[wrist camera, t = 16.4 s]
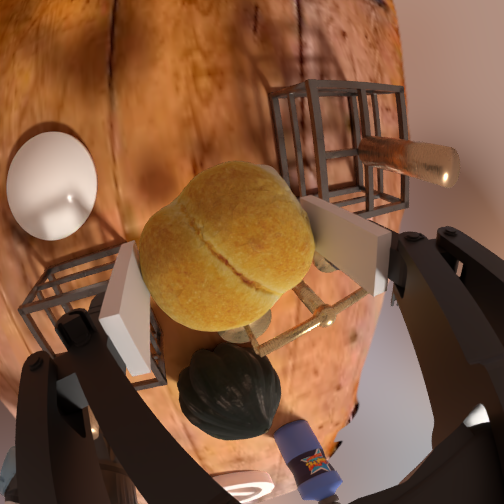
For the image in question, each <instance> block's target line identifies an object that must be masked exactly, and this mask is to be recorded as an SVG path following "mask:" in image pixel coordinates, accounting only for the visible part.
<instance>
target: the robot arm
mask: <svg viewBox="0 0 504 504" xmlns="http://www.w3.org/2000/svg"><path fill="white" fill-rule="evenodd" d="M300 204H301V207H302V208H303V209H304V210H305V211H306V212H307V216H308V218H309V220H310V225H311V229H312V233H313V236H314V242H315V250H316V251H317V252H318V253H320V254H321V255H322V256H323V257H325V258H326V259H327V260H328V261H330V262H331V263H332V264H334V265H335V266H336V267H337V268H339V269H340V270H341V271H342V272H344V273H345V274H346V275H347V276H349V277H350V278H351V279H352V280H354V281H355V282H356V283H357V284H359V285H360V286H361V287H362V288H364V289H365V290H366V291H367V292H368V293H370V294H371V295H372V296H373V297H374V296H376V295H378V294H380V293H383V292H385V291H387V283H388V278H389V279H390V280H391V281H393V282H394V285H393V292H392V299H391V306H393V305H394V301H395V300H397V306H398V305H399V308H400V310H401V313H402V315H403V318H404V321H405V323H406V326H407V329H408V331H409V334H410V337H411V340H412V343H413V345H414V349H415V352H416V355H417V358H418V361H419V364H420V367H421V371H422V374H423V378H424V381H425V385H426V388H427V392H428V396H429V400H430V403H431V407H432V412H433V416H434V428H433V433H432V449H433V450H432V451H431V452H430V453H429V454H428V456H427V457H426V458H425V459H424V460H423V461H422V462H421V463H420V464H419V465H418V466H417V467H416V468H415V469H414V470H413V471H411V472H410V473H409V474H408V475H407V476H406V477H405V478H404V479H403V480H402V481H401V482H400V483H399V484H398V485H396V486H394V487H391V488H388V489H386V490H383V491H380V492H377V493H374V494H371V495H368V496H365V497H361V498H358V499H356V500H354V501H353V502H351V503H349V504H504V260H502V259H501V258H499V257H498V256H497V255H495V254H494V253H492V252H491V251H490V250H488V249H487V248H485V247H484V246H482V245H481V244H479V243H478V242H477V241H475V240H473V239H472V238H470V237H469V236H467V235H466V234H464V233H463V232H461V231H459V230H457V229H455V228H453V227H449V226H446V227H441V228H439V229H438V230H437V237H436V239H431V240H428V239H427V237H425V236H424V235H422V234H421V233H417V232H403V233H401V234H398V233H396V232H394V231H392V230H390V229H388V228H386V227H385V228H384V226H382V225H379V224H378V223H375V222H373V221H371V220H367V219H364V218H362V217H360V216H358V215H356V214H354V213H351V212H349V211H347V210H345V209H343V208H340V207H338V206H336V205H334V204H331V203H329V202H327V201H325V200H322V199H320V198H318V197H315V196H313V195H309V196H304V197H300ZM459 261H461V262H462V263H463V268H462V272H461V276H460V277H458V276H457V275H456V272H457V268H458V263H459ZM55 331H56V333H57V334H58V336H59V337H60V339H61V341H62V342H63V344H64V345H65V347H66V348H67V351H68V352H66V353H64V354H62V355H60V356H58V357H56V358H54V359H52V358H51V356H50V355H49V354H48V353H47V352H46V351H38V352H35V353H33V354H31V355H30V356H29V357H28V358H27V360H26V361H25V363H24V365H23V368H22V373H21V379H20V386H19V394H18V404H17V415H16V437H15V438H16V440H15V446H13V447H11V448H10V449H9V451H8V453H7V455H6V458H5V460H4V463H3V466H2V470H1V473H0V474H1V475H0V494H1V495H2V496H4V497H5V504H138V502H137V496H136V489H135V486H136V488H137V489H138V491H139V492H140V493H141V495H142V496H143V497H144V499H145V500H146V501H147V503H148V504H241V503H240V502H239V501H238V500H237V499H235V498H234V497H233V496H232V495H231V494H230V493H228V492H227V491H226V490H225V489H224V488H223V487H222V486H221V485H219V484H218V483H217V482H216V481H215V480H214V479H213V478H212V477H211V476H210V475H209V474H208V473H207V472H206V471H205V470H204V469H203V468H202V467H201V466H200V465H199V464H198V463H197V462H196V461H195V460H194V459H193V458H192V457H191V456H190V455H189V454H188V453H187V452H186V451H185V450H184V449H183V448H182V447H181V446H180V444H179V443H178V442H177V441H176V440H175V439H174V438H173V437H172V435H171V434H170V433H169V432H168V431H167V430H166V428H165V427H164V426H163V425H162V424H161V422H160V421H159V420H158V419H157V417H156V416H155V415H154V414H153V412H152V411H151V410H150V409H149V407H148V406H147V405H146V403H145V402H144V401H143V399H142V398H141V397H140V395H139V394H138V393H137V391H136V390H135V388H134V387H133V386H132V384H131V383H130V381H129V380H128V378H127V377H126V367H127V369H128V370H129V372H130V374H131V375H132V376H137V375H141V374H146V373H150V372H151V363H150V292H149V290H148V289H147V287H146V284H145V283H144V281H143V278H142V273H141V268H140V259H139V252H138V249H137V246H136V243H135V240H134V241H131V242H128V243H124V244H121V247H120V250H119V253H118V255H117V258H116V261H115V264H114V267H113V270H112V274H111V277H110V280H109V283H108V286H107V290H106V291H105V292H101V293H98V294H97V295H96V296H95V297H94V299H93V300H92V301H91V304H90V307H89V310H88V312H87V311H86V310H85V309H82V308H78V309H73V310H71V311H69V312H67V313H66V314H64V315H63V316H62V317H61V318H60V319H59V320H58V321H57V323H56V324H55ZM88 405H89V406H90V408H91V410H92V413H93V415H94V417H95V419H96V421H97V423H98V425H99V436H98V438H97V439H95V440H94V439H93V434H92V429H91V423H90V417H89V411H88Z"/></svg>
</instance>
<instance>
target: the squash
mask: <svg viewBox="0 0 504 504" xmlns="http://www.w3.org/2000/svg"><path fill="white" fill-rule="evenodd" d="M177 387H178V390H179V392H180V393H179V402H180V406H181V410H182V412H183V414H184V415H185V416H186V417H187V419H188V420H189V421H190V422H191V423H192V424H193V425H195V426H197V427H198V428H200V429H201V430H202V431H204V432H205V433H207V434H209V435H211V436H212V437H215V438H218V439H222V440H239V439H248V438H253V437H257V436H259V435H262V434H264V433H267V432H268V431H269V429H270V427H271V425H272V421H273V418H274V415H275V413H276V411H277V408H278V406H279V402H280V398H281V386H280V380H279V377H278V375H277V373H276V371H275V370H274V368H273V367H272V365H271V363H270V361H269V359H268V358H267V356H266V355H265V356H263V357H260V356H259V355H258V354H256V353H255V351H254V349H253V348H250V347H246V348H241V347H239V346H237V345H234V344H232V343H226V342H223V343H220V344H219V345H218V346H217V347H216V348H215V350H214V352H211V351H209V350H205V349H201V350H198V351H196V352H195V353H194V354H193V356H192V359H191V363H190V366H189V367H187V368H185V369H183V370H182V372H181V373H180V375H179V380H178V382H177Z"/></svg>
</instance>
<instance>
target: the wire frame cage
mask: <svg viewBox="0 0 504 504" xmlns="http://www.w3.org/2000/svg"><path fill="white" fill-rule="evenodd" d="M391 93H395V95H396V103H397V113H398V124H399V138H400V139H396V138H388V137H381V130H380V119H379V110H378V101H377V94H391ZM366 95H371V99H372V107H373V116H374V127H375V136H371V132H370V122H369V112H368V104H367V96H366ZM324 96H344V97H349V104H350V112H351V121H352V130H353V141H354V148H352V149H343V150H334V151H325V144H324V135H323V127H322V119H321V111H320V104H319V97H324ZM356 96H358V101H359V109H360V117H361V127H362V138H363V139H362V140H361V139H360V128H359V118H358V109H357V101H356ZM295 97H307V98H308V105H309V112H310V120H311V127H312V135H313V144H314V153H315V163H316V173H317V184H318V193H315V194H310V195H313V196H315V197H318V198H320V199H322V200H325V201H327V202H329V198H330V197H335V196H339V195H344V194H349V193H354V192H364V193H365V195H366V196H362V197H357V198H353V199H348V200H343V201H339V202H334V203H331V204H334V205H336V206H338V207H342V206H347V205H351V204H355V203H360V202H364V201H366V210H362V211H358V212H353V213H354V214H356V215H358V216H360V217H362V218H364V219H367V218H371V217H375V216H378V215H382V214H386V213H390V212H393V211H397V210H401V209H406V208H408V207H409V176H410V177H414V178H417V179H420V180H424V181H427V182H430V183H434V184H437V185H440V186H443V187H446V188H451V187H452V186H454V184H455V183H456V181H457V179H458V177H459V172H460V159H459V155H458V153H457V151H456V150H455V149H454V148H452V147H447V146H442V145H436V144H430V143H424V142H418V141H411V140H408V128H407V116H406V106H405V97H404V87H403V86H395V85H387V84H379V83H369V82H356V81H338V80H316V79H308V80H305V81H304V82H302V83H299V84H296V85H293V86H290V87H287V88H284V89H281V90H278V91H276V92H271V93H269V98H270V102H271V108H272V115H273V122H274V128H275V135H276V142H277V149H278V157H279V164H280V172H281V177H282V179H283V180H284V181H285V182H286V183H287V185H288V186H289V188H290V181H289V173H288V165H287V157H286V149H285V142H284V135H283V127H282V120H281V114H280V107H279V101H278V99H280V98H288V105H289V111H290V118H291V125H292V133H293V140H294V148H295V156H296V165H297V173H298V183H299V192H300V197H304V196H309V195H306V188H305V178H304V169H303V160H302V151H301V143H300V135H299V127H298V120H297V113H296V106H295V99H294V98H295ZM346 156H355V169H356V186H350V187H345V188H340V189H335V190H330V191H329V190H328V177H327V165H326V159H331V158H338V157H346ZM362 163H363V164H364V168H365V186H363V167H362ZM373 167H375V168H377V178H378V191H376V190H374V189H373ZM383 170H387V171H391V172H395V173H399V174H401V199H399V198H396V197H394V196H391V195H388V194H385V193H383ZM300 197H296V198H297V200H298V201H299V203H300ZM378 198H380V199H383V200H386V201H388V202H391V203H390V204H386V205H382V206H378V207H374V199H378Z"/></svg>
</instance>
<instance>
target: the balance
mask: <svg viewBox="0 0 504 504" xmlns="http://www.w3.org/2000/svg"><path fill="white" fill-rule="evenodd" d="M312 262H313V264H314V265H315V267H316V268H317V269H319V270H320V271H322V272H326V273H329V272H333V271H335V270H340V269H339V268H337V267H336V266H335V265H334V264H332V263H331V262H330V261H328V260H327V259H326V258H325V257H323V256H322V255H321V254H320V253H318V252H317V251H316V250H315V251H314V255H313V260H312ZM292 290H293V291H294V292H295V293H296V295H297V296H298V297H299V298H300V300H301V301H302V302H303V303H304V304H305V306H306V307H307V308H308V309H309V310H310V312H311V313H312V314H313V317H311V318H309V319H308V320H306V321H304V322H302V323H301V324H299V325H297V326H295V327H293V328H292V329H290V330H288V331H286V332H284V333H282V334H280V335H279V336H277V337H275V338H273V339H271V340H269V341H267V342H265V343H263V344H261V345H259V344H258V342H257V340H256V338H258V337H259V336H260V335H262V334H263V333H264V332H265V331H266V329H267V328H268V326H269V324H270V322H271V310H270V309H269V310H268V311H267V312H266V313H265V314H264V315H263V316H262V317H261V318H259V319H258V320H256V321H254V322H253V323H251V324H248V325H246V326H242V327H239V328H235V329H230V330H225V331H217V332H218V334H219V335H220V336H221V337H222V338H223V339H224V340H226V341H228V342H231V343H246V342H249V341H250V342H251V344H252V346H253V349H254V351H255V353H256V354H258V355H259V356H260V357H263V356H265V355H267V354H269V353H271V352H273V351H275V350H276V349H278V348H280V347H282V346H284V345H286V344H287V343H289V342H291V341H293V340H295V339H296V338H298V337H300V336H302V335H303V334H305V333H307V332H308V331H310V330H312V329H314V328H315V327H317V326H320V327H329V326H331V325H332V324H333V323H334V322H335V320H336V315H337V314H338V313H340V312H341V311H343V310H344V309H346V308H348V307H349V306H351V305H352V304H354V303H355V302H357V301H358V300H360V299H361V298H363V297H364V296H366V295H367V294H369V293H368V292H367V291H366V290H365V289H364V288H362V287H361V288H359V289H358V290H356V291H355V292H353V293H351V294H350V295H348V296H347V297H345V298H343V299H342V300H340V301H338V302H337V303H335V304H333V305H332V306H331V305H328V304H325V303H324V302H323V301H322V300H321V299H320V298H319V297H318V296H317V295H316V294H315V293H314V292H313V291H312V289H311V288H310V287H309V286H308V285H307V284H306V283H305V282H304V281H303V280H302V281H301V282H300V283H298V284H297V285H296V286H295V287H293V288H292Z"/></svg>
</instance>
